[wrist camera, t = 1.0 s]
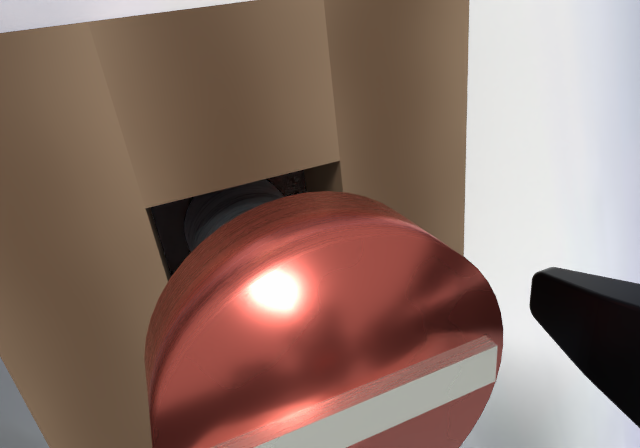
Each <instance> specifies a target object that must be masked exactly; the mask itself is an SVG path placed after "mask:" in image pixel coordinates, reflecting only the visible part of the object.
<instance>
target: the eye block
mask: <svg viewBox="0 0 640 448" xmlns="http://www.w3.org/2000/svg"><path fill="white" fill-rule="evenodd" d="M468 31H469V0H255V1H247V2H240V3H232V4H224V5H216V6H208V7H201V8H193V9H185V10H177V11H170V12H162V13H154V14H146V15H138V16H131V17H123V18H115V19H107V20H99V21H92V22H84V23H76V24H68V25H60V26H53V27H45V28H37V29H29V30H22V31H14V32H6V33H0V357H1V359H2V360H3V362H4V364H5V366H6V368H7V370H8V371H9V373H10V375H11V377H12V379H13V381H14V383H15V384H16V386H17V388H18V390H19V392H20V394H21V395H22V397H23V399H24V401H25V403H26V405H27V406H28V408H29V410H30V412H31V414H32V416H33V418H34V419H35V421H36V423H37V425H38V427H39V429H40V430H41V432H42V434H43V436H44V438H45V440H46V442H47V443H48V445H49V447H50V448H152V438H151V426H150V415H149V404H148V393H147V382H146V371H145V360H144V356H145V343H146V336H147V331H148V327H149V323H150V319H151V316H152V314H153V311H154V309H155V306H156V304H157V301H158V299H159V297H160V295H161V293H162V292H163V290H164V288H165V286H166V285H167V283H168V281H169V279H170V278H171V274H170V271H169V267H168V264H167V261H166V257H165V254H164V251H163V248H162V244H161V241H160V238H159V234H158V231H157V228H156V224H155V221H154V218H153V215H152V211H151V208H150V207H153V206H157V205H161V204H165V203H169V202H174V201H178V200H182V199H186V198H190V197H194V196H198V195H202V194H206V193H210V192H214V191H218V190H222V189H226V188H231V187H235V186H239V185H243V184H247V183H251V182H255V181H259V180H263V179H267V178H271V177H275V176H279V175H284V174H288V173H292V172H296V171H300V170H304V177H305V184H306V191H307V192H322V191H333V192H346V193H352V194H356V195H361V196H365V197H368V198H371V199H373V200H376V201H378V202H381V203H383V204H385V205H387V206H388V207H390V208H392V209H393V210H395V211H397V212H398V213H400V214H401V215H403V216H404V217H406V218H407V219H409V220H410V221H412V222H413V223H415V224H416V225H418V226H419V227H420V228H422V229H423V230H425V231H426V232H428V233H429V234H431V235H432V236H434V237H435V238H437V239H438V240H440V241H441V242H443V243H444V244H446V245H447V246H449V247H450V248H452V249H453V250H455V251H456V252H458V253H459V254H460V255H462V256H463V254H464V209H465V164H466V120H467V75H468Z"/></svg>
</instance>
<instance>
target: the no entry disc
mask: <svg viewBox="0 0 640 448" xmlns="http://www.w3.org/2000/svg"><path fill="white" fill-rule="evenodd" d="M184 231H185V237H186V240H187V243H188V246H189V249H190V252H191V253H190V254H189V255H188V256H187V257H186V258H185V259H184V261H183V262H182V263H181V265H180V266H179V267H178V269H177V270H176V271H175V272H174V274H173V275H172V276H171V278H170V279H169V281H168V283H167V285H166V286H165V288H164V290H163V292H162V293H161V295H160V297H159V299H158V301H157V304H156V306H155V309H154V311H153V314H152V316H151V319H150V323H149V327H148V331H147V336H146V343H145V356H144V360H145V371H146V382H147V393H148V404H149V415H150V426H151V438H152V448H459V447H460V446H461V444H462V443H463V442H464V440H465V439H466V437H467V436H468V435H469V433H470V432H471V430H472V429H473V427H474V425H475V424H476V422H477V420H478V419H479V417H480V416H481V414H482V412H483V410H484V408H485V406H486V404H487V402H488V400H489V397H490V395H491V392H492V390H493V387H494V384H495V382H496V378H497V375H498V371H499V367H500V363H501V356H502V349H503V325H502V318H501V312H500V308H499V305H498V302H497V299H496V296H495V294H494V292H493V290H492V288H491V286H490V284H489V283H488V281H487V280H486V279H485V277H484V276H483V275H482V273H481V272H480V271H479V270H478V268H476V267H475V266H474V265H473V264H472V263H471V262H469V261H468V260H467V259H466V258H465V257H463V256H462V255H460V254H459V253H458V252H456V251H455V250H453V249H452V248H450V247H449V246H447V245H446V244H444V243H443V242H441V241H440V240H438V239H437V238H435V237H434V236H432V235H431V234H429V233H428V232H426V231H425V230H423V229H422V228H420V227H419V226H418V225H416V224H415V223H413V222H412V221H410V220H409V219H407V218H406V217H404V216H403V215H401V214H400V213H398V212H397V211H395V210H393V209H392V208H390V207H388V206H387V205H385V204H383V203H381V202H378V201H376V200H373V199H371V198H368V197H365V196H361V195H356V194H352V193H346V192H333V191H322V192H306V193H301V194H296V195H291V196H286V197H285V196H284V195H283V194H282V193H281V192H280V191H279V190H278V189H277V188H276V187H275V186H274V185H273V184H272V183H270V182H269V181H267V180H266V179H263V180H259V181H255V182H251V183H247V184H243V185H239V186H235V187H231V188H226V189H222V190H218V191H214V192H210V193H206V194H202V195H198V196H195V197H194V198H193V199H192V201H191V203H190V205H189V207H188V209H187V212H186V216H185V222H184Z"/></svg>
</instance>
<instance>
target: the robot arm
mask: <svg viewBox="0 0 640 448" xmlns="http://www.w3.org/2000/svg"><path fill="white" fill-rule="evenodd" d="M530 310H531V313H532V315H533V317H534V318H535V319H536V320H537V321H538V323H539V324H540V325H541V326H542V327H543V328H544V329H545V331H546V332H547V333H548V334H549V335H550V336H551V337H552V339H553V340H554V341H555V342H556V343H557V344H558V345H559V347H560V348H561V349H562V350H563V351H564V352H565V353H566V355H567V356H568V357H569V358H570V359H571V360H572V361H573V363H574V364H575V365H576V366H577V367H578V368H579V369H580V370H581V371H582V373H583V374H584V375H585V376H586V377H587V378H588V379H589V380H590V381H591V382H592V383H593V384H594V385H595V386H596V387H597V388H598V389H599V390H600V391H602V392H603V393H604V394H605V395H606V396H607V397H608V398H609V399H610V400H611V401H612V402H613V403H614V404H615V405H616V406H617V407H618V408H619V409H620V410H621V411H622V412H623V413H624V414H626V415H627V416H628V417H629V418H630V419H631V420H632V421H633V422H634V423H635V424H636V425H637V426H638V427H639V428H640V284H637V283H632V282H627V281H622V280H617V279H612V278H607V277H602V276H597V275H592V274H587V273H582V272H577V271H572V270H567V269H562V268H557V267H550V268H547V269H544V270H542V271H539V272H537V273H535V274H534V276H533V278H532V285H531V295H530Z"/></svg>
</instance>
